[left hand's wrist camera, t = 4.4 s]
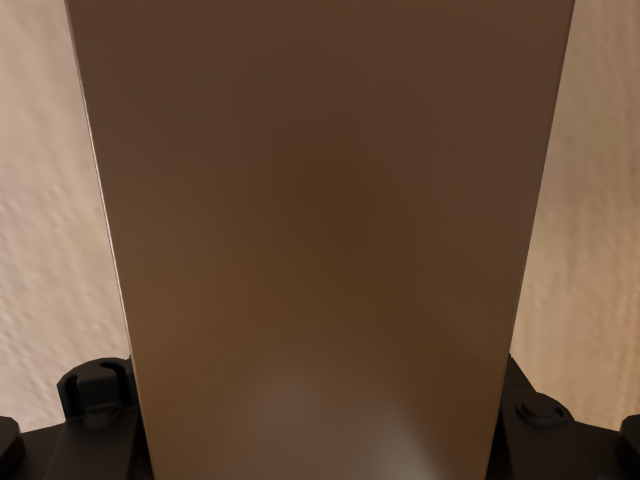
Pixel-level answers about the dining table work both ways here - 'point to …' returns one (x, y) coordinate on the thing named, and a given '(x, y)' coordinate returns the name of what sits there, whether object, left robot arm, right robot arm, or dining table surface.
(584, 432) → the left robot arm
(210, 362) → the bar
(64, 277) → the dining table surface
